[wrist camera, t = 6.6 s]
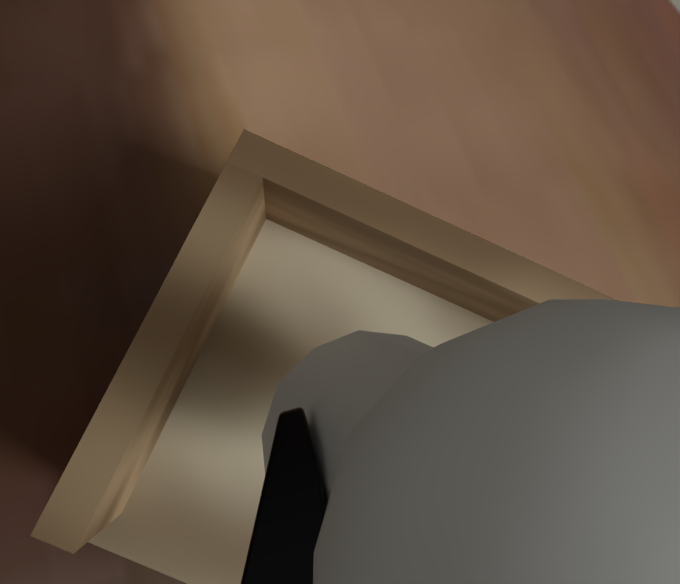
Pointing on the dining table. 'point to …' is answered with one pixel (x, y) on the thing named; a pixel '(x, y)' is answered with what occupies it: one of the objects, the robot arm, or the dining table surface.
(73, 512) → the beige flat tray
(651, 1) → the dining table surface
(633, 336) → the salt shaker
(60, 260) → the dining table surface
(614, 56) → the dining table surface
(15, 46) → the dining table surface
